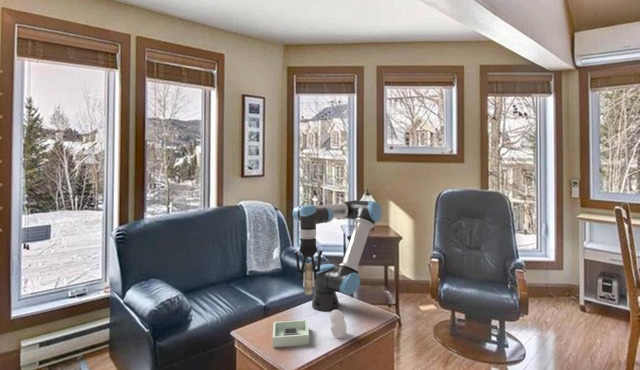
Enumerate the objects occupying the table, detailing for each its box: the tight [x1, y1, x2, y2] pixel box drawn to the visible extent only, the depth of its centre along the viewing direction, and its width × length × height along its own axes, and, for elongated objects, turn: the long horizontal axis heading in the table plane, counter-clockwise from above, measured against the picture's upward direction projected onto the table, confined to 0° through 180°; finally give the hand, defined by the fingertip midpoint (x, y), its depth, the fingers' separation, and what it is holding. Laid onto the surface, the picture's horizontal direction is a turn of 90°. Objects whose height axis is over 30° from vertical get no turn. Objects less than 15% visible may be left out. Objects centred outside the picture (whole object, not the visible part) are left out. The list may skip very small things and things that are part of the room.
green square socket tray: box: [272, 319, 310, 349], centre depth 168 cm, size 16×16×4 cm
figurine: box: [329, 309, 347, 339], centre depth 169 cm, size 7×8×12 cm
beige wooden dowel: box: [304, 263, 314, 296], centre depth 175 cm, size 4×4×14 cm
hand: (308, 286), depth 175 cm, fingers closed on beige wooden dowel, 3 cm apart
